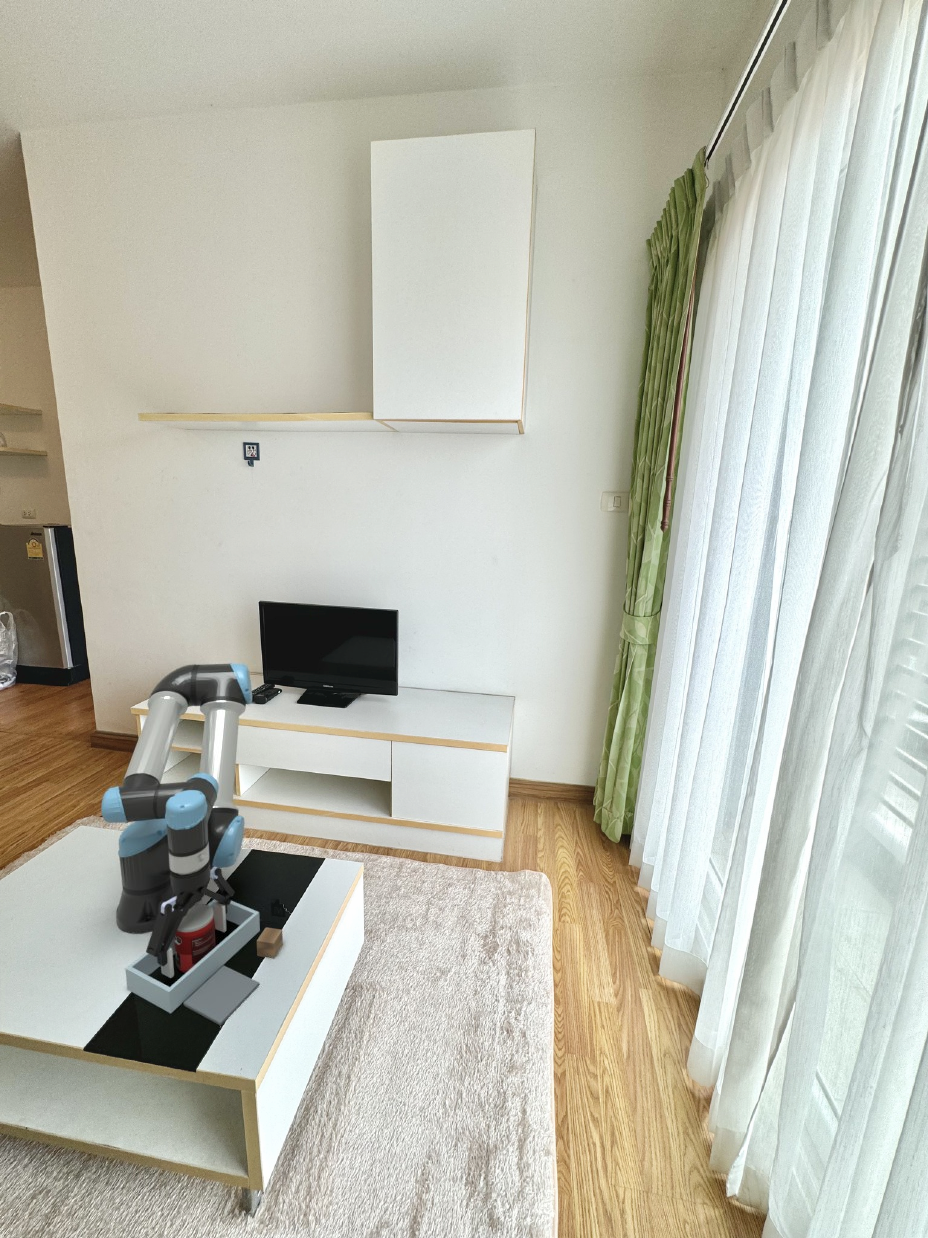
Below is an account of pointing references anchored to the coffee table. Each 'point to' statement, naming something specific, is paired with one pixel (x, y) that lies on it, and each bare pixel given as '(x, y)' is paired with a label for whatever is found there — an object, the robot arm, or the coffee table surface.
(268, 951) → the walnut block
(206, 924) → the canned food
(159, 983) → the bin
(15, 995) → the coffee table surface
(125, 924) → the robot arm
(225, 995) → the pad
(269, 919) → the coffee table surface
